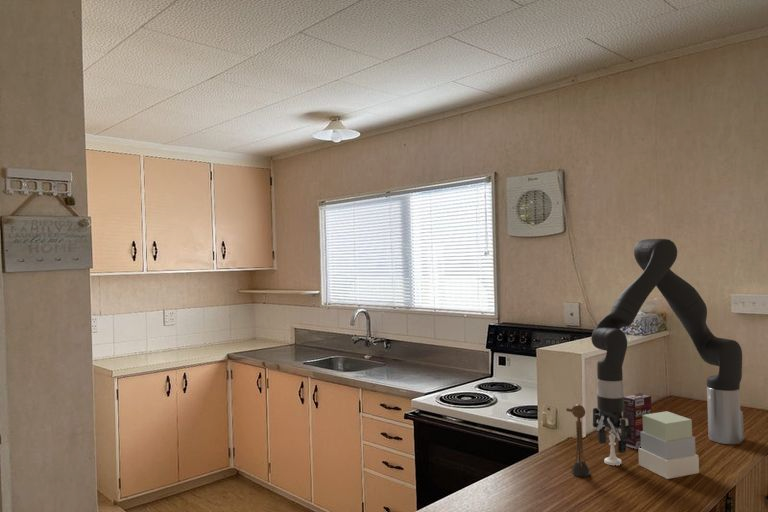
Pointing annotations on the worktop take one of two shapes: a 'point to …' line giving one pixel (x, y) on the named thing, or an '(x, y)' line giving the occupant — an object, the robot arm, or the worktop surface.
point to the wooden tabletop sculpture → (579, 443)
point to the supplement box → (636, 416)
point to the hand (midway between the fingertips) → (611, 447)
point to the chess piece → (612, 452)
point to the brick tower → (668, 445)
